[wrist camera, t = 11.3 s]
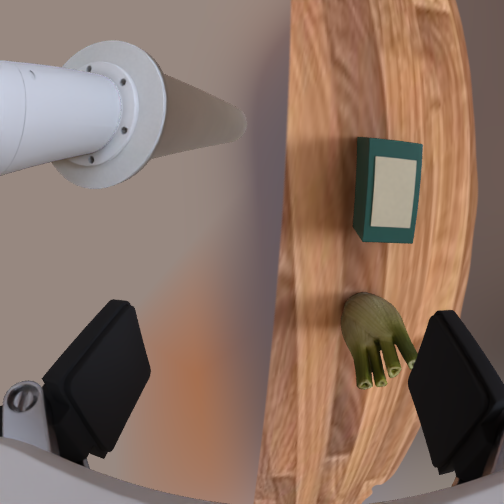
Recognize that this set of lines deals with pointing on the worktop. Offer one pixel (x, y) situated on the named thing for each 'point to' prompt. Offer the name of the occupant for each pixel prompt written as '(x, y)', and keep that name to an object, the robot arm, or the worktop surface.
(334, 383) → the worktop surface
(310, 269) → the worktop surface
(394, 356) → the fennel bulb
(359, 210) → the tea packet
